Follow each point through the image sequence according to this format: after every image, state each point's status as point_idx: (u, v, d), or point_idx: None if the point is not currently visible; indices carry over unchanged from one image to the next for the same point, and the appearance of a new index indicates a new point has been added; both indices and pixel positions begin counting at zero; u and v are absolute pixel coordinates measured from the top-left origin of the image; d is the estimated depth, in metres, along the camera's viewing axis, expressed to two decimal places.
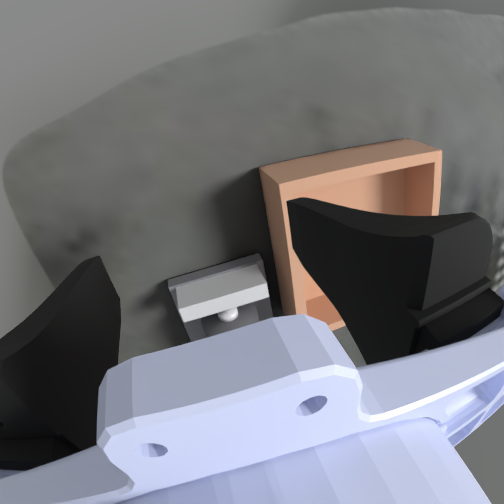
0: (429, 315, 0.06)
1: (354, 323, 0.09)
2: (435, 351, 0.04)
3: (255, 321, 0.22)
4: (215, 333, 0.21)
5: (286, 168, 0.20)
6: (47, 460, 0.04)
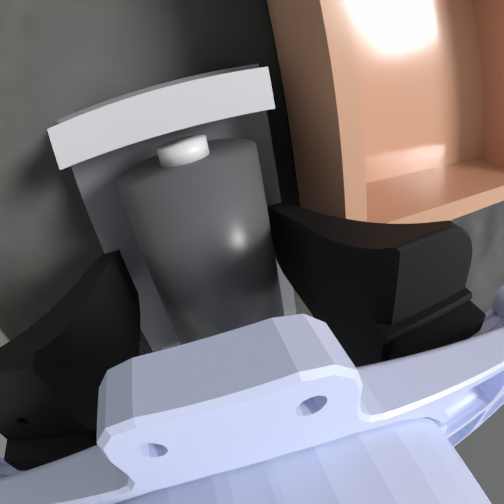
0: (399, 330, 0.06)
1: None
2: (435, 351, 0.04)
3: (256, 157, 0.08)
4: (150, 183, 0.07)
5: None
6: None
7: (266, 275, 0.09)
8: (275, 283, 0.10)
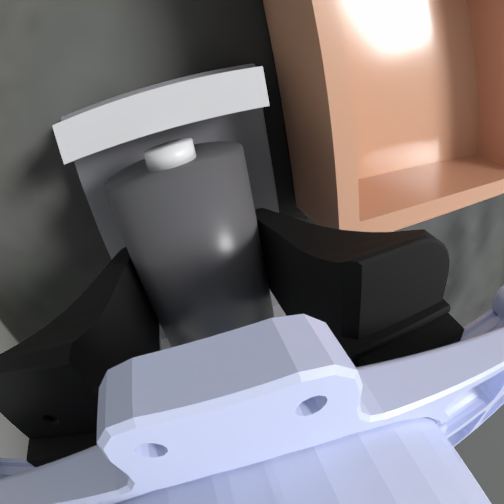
0: (365, 345, 0.05)
1: None
2: (435, 351, 0.04)
3: (238, 165, 0.08)
4: (124, 189, 0.07)
5: None
6: None
7: (246, 287, 0.09)
8: (259, 294, 0.10)
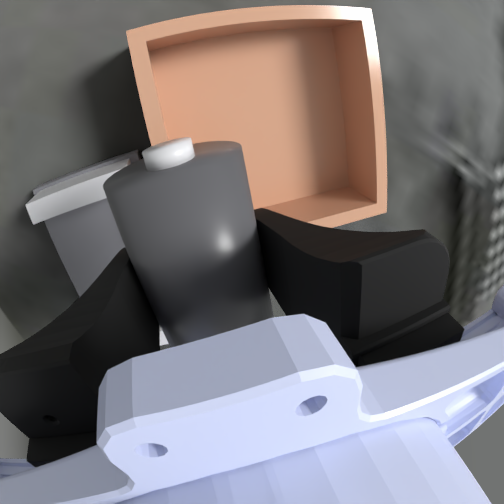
0: (366, 345, 0.05)
1: None
2: (435, 351, 0.04)
3: (237, 165, 0.08)
4: (123, 188, 0.07)
5: None
6: None
7: (245, 286, 0.09)
8: (258, 294, 0.10)
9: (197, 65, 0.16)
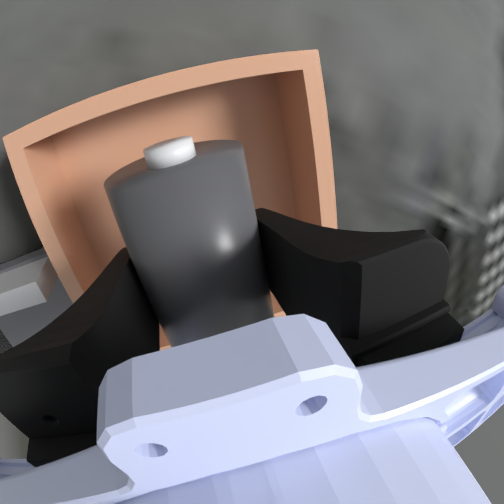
0: (366, 345, 0.05)
1: None
2: (435, 352, 0.04)
3: (238, 163, 0.08)
4: (124, 187, 0.07)
5: None
6: None
7: (246, 285, 0.09)
8: (259, 293, 0.10)
9: (104, 146, 0.14)
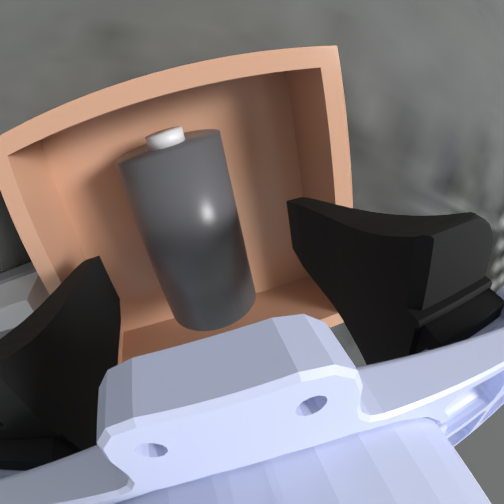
0: (429, 315, 0.06)
1: (354, 323, 0.09)
2: (435, 352, 0.04)
3: (213, 145, 0.10)
4: (130, 162, 0.10)
5: None
6: (47, 460, 0.04)
7: (221, 239, 0.12)
8: (233, 247, 0.12)
9: (98, 151, 0.12)
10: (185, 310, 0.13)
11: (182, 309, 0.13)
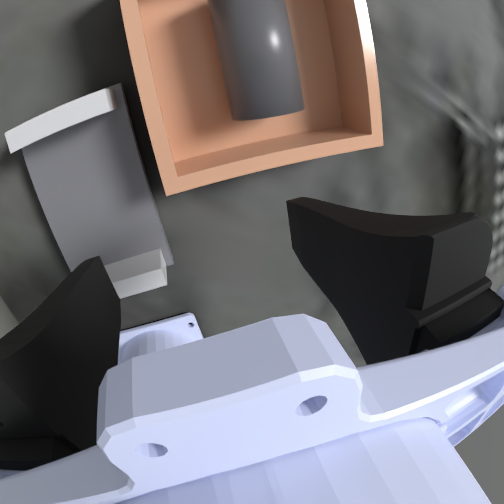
0: (429, 315, 0.06)
1: (354, 323, 0.09)
2: (435, 352, 0.04)
3: None
4: None
5: None
6: (47, 460, 0.04)
7: (284, 40, 0.13)
8: (291, 51, 0.14)
9: (183, 2, 0.14)
10: (251, 97, 0.14)
11: (249, 97, 0.14)
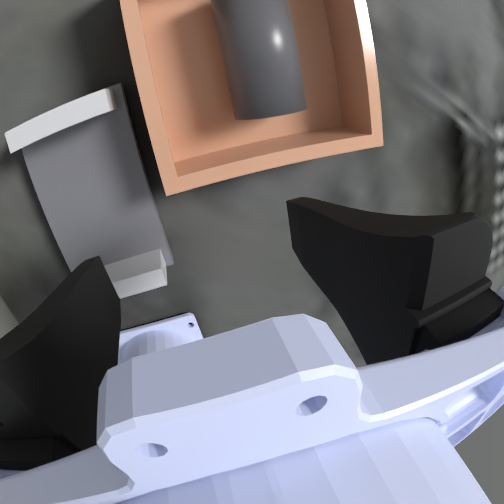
0: (429, 315, 0.06)
1: (354, 323, 0.09)
2: (435, 352, 0.04)
3: None
4: None
5: None
6: (47, 460, 0.04)
7: (289, 40, 0.13)
8: (295, 51, 0.14)
9: (183, 2, 0.14)
10: (257, 96, 0.14)
11: (254, 96, 0.14)
